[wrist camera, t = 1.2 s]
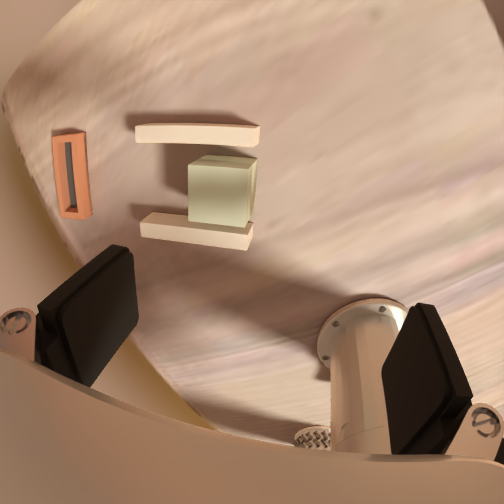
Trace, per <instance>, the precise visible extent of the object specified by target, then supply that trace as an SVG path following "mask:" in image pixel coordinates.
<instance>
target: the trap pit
mask: <svg viewBox="0 0 504 504" xmlns="http://www.w3.org/2000/svg"><path fill="white" fill-rule="evenodd" d="M52 147H53V160H54V170H55V180H56V188H57V195H58V202H59V209H60V215H61V217H62V218H72V219H81V220H85V219H86V218H88V217H89V216H91V215H92V214H93V213H92V205H91V196H90V186H89V176H88V163H87V147H86V132H80V133H69V134H61V135H57V136H53V137H52Z"/></svg>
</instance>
